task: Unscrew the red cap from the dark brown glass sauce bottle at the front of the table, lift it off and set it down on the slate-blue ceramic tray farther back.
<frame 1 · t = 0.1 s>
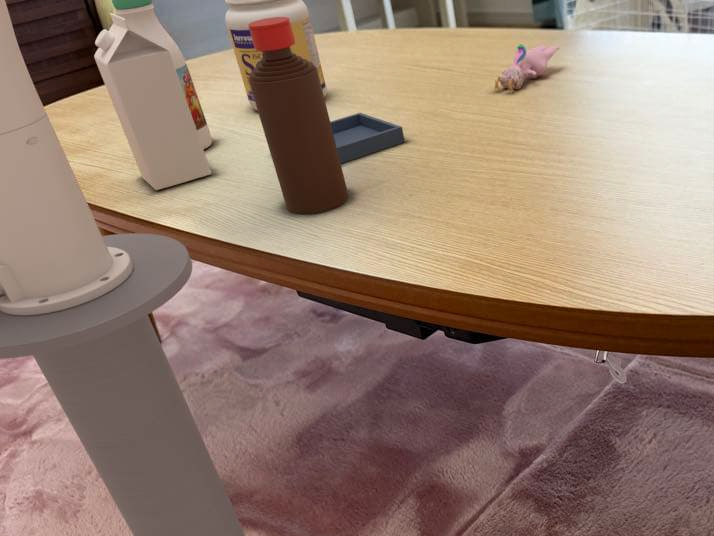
milk carton: (177, 178, 103), on the table
cap: (269, 24, 80), point 19 cm above the table, screwed on, not yet turned
supplement tub: (291, 104, 128), on the table
pink elongated figure: (530, 80, 125), on the table
bottle: (317, 201, 91), on the table
tray: (340, 148, 106), on the table
milk bottle: (185, 150, 113), on the table
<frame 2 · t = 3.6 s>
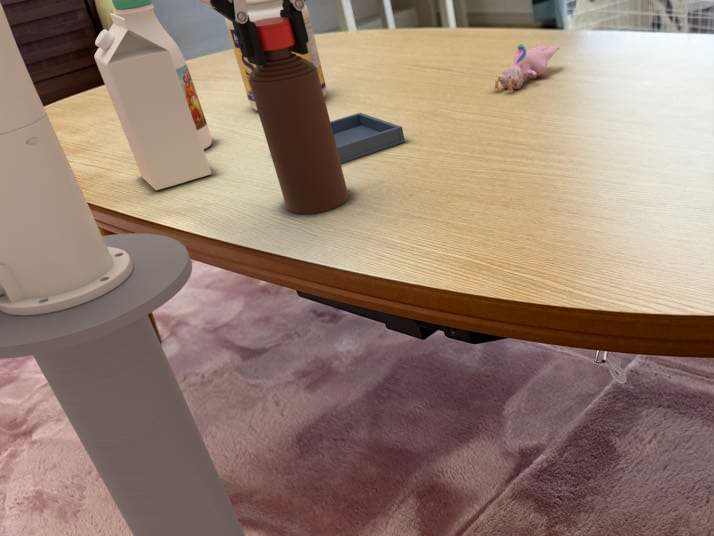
hand: (278, 56, 82), 16 cm above the table, tool pointing down, fingers closed on cap, 4 cm apart
cap: (269, 24, 80), point 19 cm above the table, screwed on, not yet turned, touching gripper
everything else where it was.
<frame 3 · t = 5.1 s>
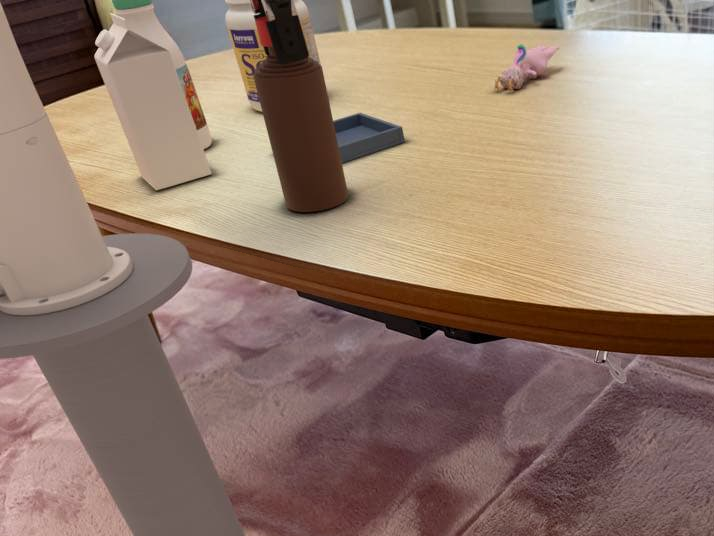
hand: (287, 55, 83), 16 cm above the table, tool pointing down, fingers closed on cap, 4 cm apart
cap: (276, 21, 81), point 19 cm above the table, turned 80° so far, risen 0.1 cm, still on its thread, touching gripper
bottle: (317, 200, 91), on the table, touching gripper
everything else where it was.
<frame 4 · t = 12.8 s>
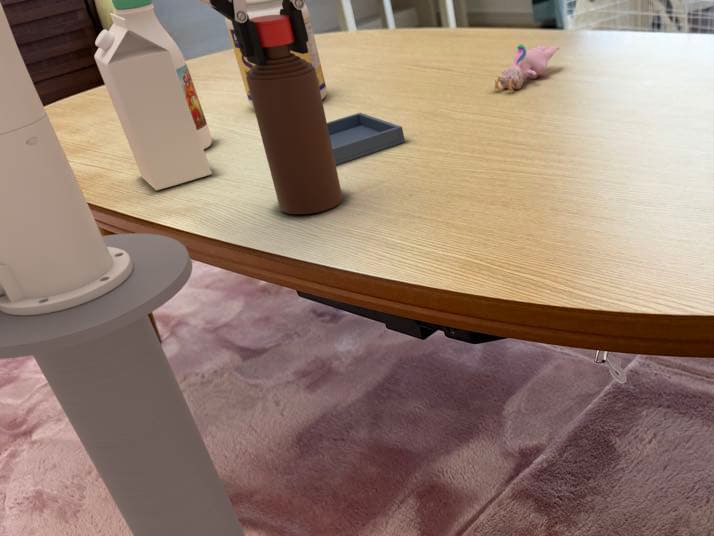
hand: (277, 55, 82), 16 cm above the table, tool pointing down, fingers closed on cap, 4 cm apart
cap: (268, 21, 80), point 19 cm above the table, turned 159° so far, risen 0.2 cm, still on its thread, touching gripper
bottle: (311, 202, 91), on the table
everything else where it was.
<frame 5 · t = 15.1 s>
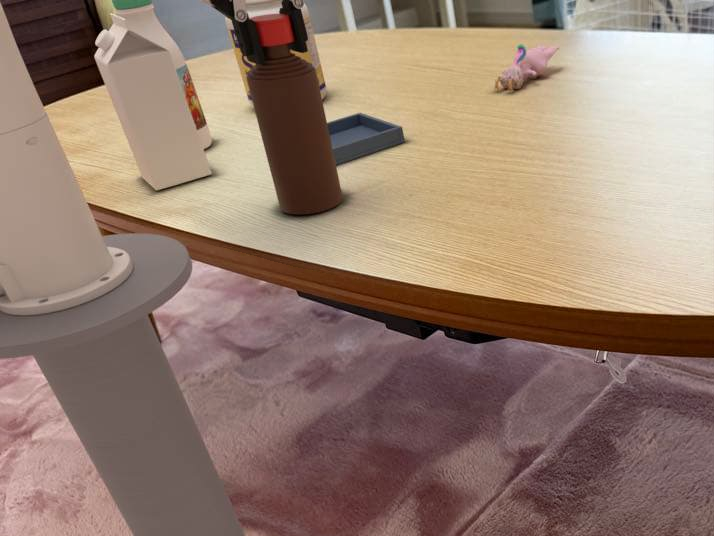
hand: (277, 54, 82), 16 cm above the table, tool pointing down, fingers closed on cap, 4 cm apart
cap: (268, 20, 80), point 19 cm above the table, turned 239° so far, risen 0.3 cm, still on its thread, touching gripper
everything else where it was.
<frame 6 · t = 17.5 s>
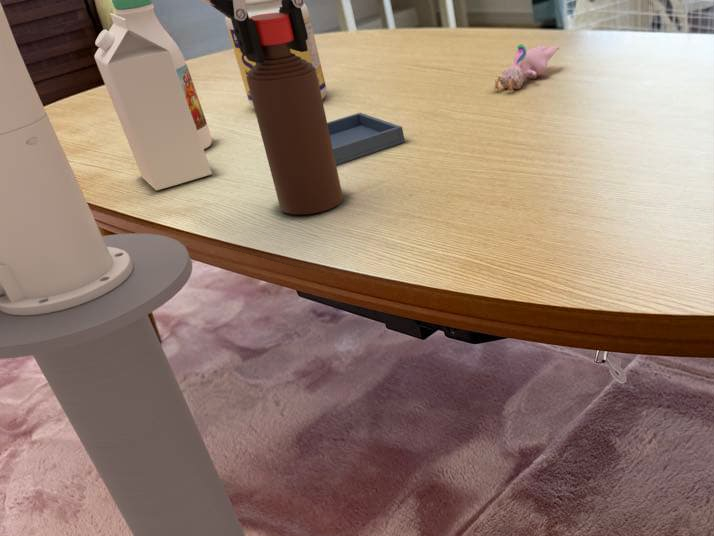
hand: (277, 53, 82), 16 cm above the table, tool pointing down, fingers closed on cap, 4 cm apart
cap: (268, 19, 80), point 19 cm above the table, turned 318° so far, risen 0.3 cm, still on its thread, touching gripper
everything else where it was.
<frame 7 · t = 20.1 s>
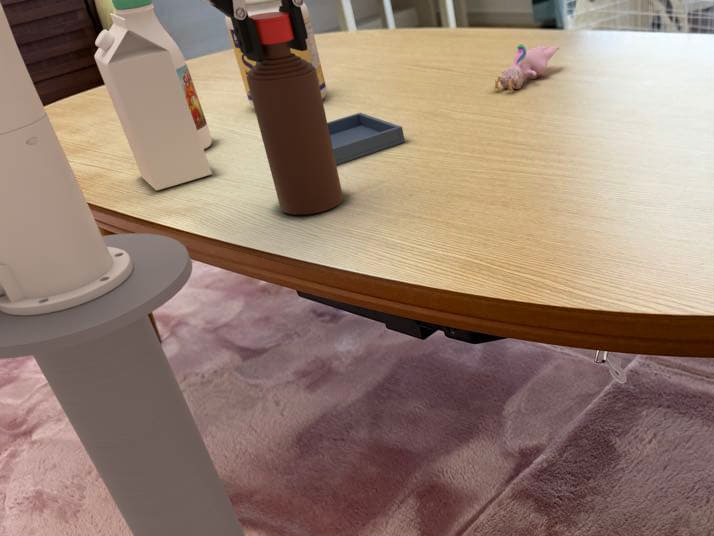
hand: (277, 52, 82), 16 cm above the table, tool pointing down, fingers closed on cap, 4 cm apart
cap: (268, 18, 80), point 19 cm above the table, turned 399° so far, risen 0.4 cm, still on its thread, touching gripper
everything else where it was.
when the fingers open (2 cm above the table, at t = 29.6 s): cap drops 3 cm, resting on tray.
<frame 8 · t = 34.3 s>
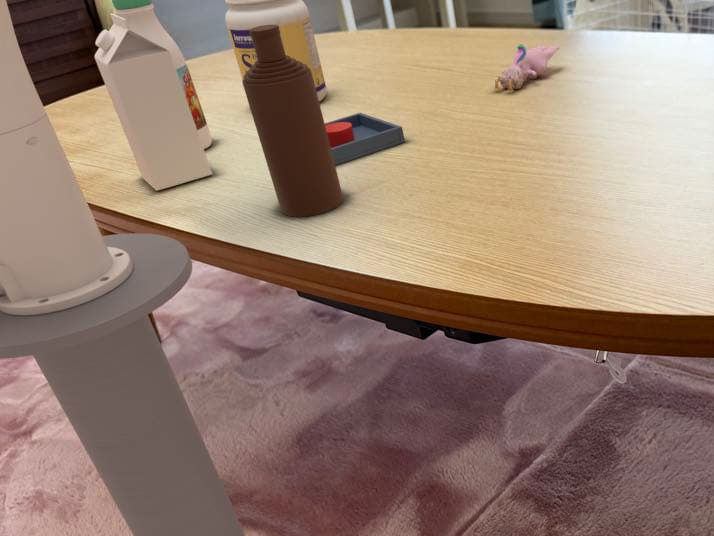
cap: (336, 129, 105), point 2 cm above the table, off its thread, touching tray
everything else where it was.
at the end: cap inside the target area on the tray (0.2 cm from its centre), point 2.5 cm above the tray's base; the gripper is holding nothing; cap point 2.5 cm above the table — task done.
